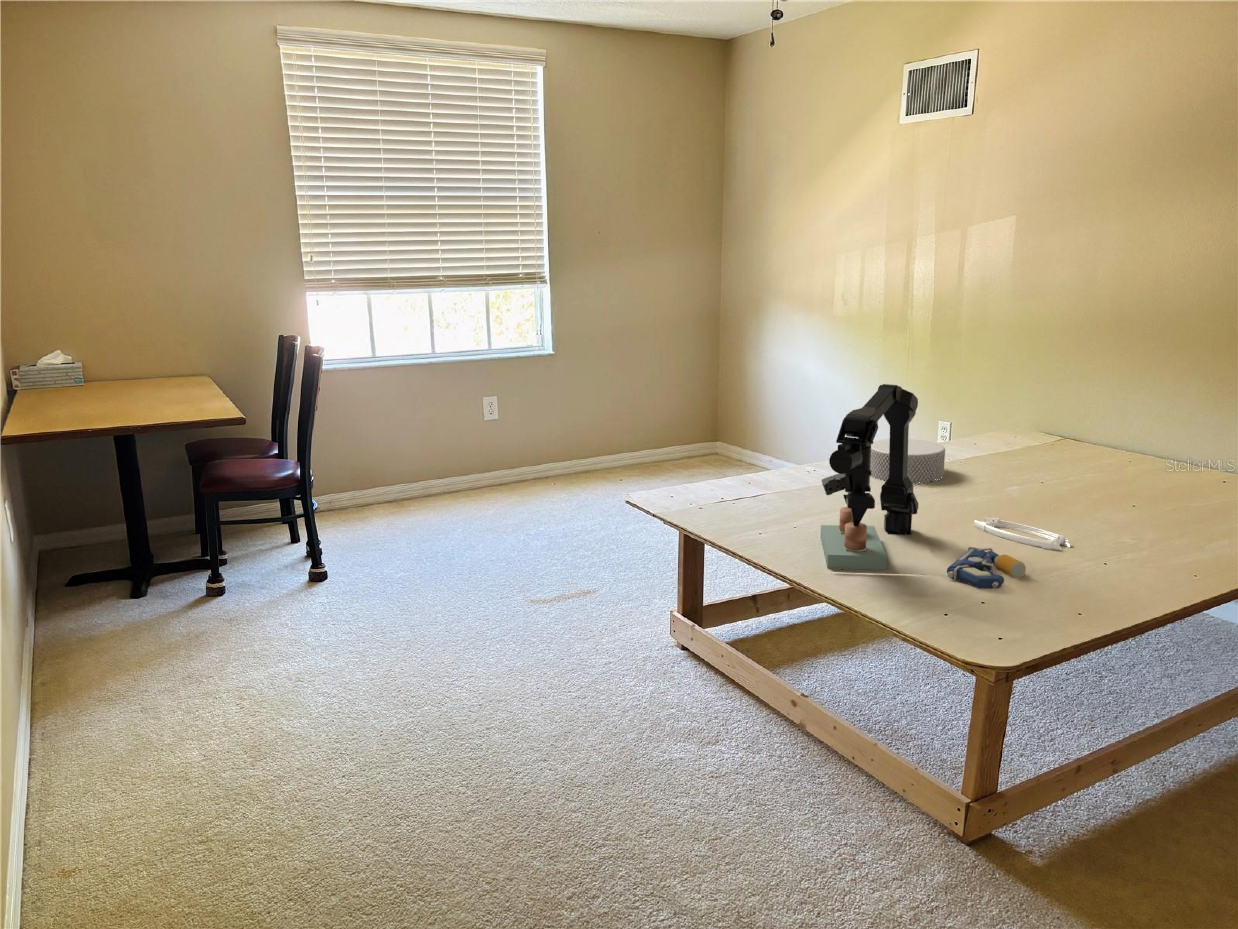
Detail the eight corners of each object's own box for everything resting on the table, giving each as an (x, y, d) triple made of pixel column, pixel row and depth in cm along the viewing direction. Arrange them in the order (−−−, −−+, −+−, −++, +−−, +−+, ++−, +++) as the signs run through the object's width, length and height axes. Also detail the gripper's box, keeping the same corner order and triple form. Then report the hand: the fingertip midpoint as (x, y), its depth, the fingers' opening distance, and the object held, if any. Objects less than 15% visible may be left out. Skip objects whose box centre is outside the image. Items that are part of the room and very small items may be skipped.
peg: (864, 558, 212) (865, 522, 209) (866, 565, 206) (868, 529, 204) (842, 557, 212) (843, 522, 210) (844, 565, 207) (846, 528, 205)
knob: (882, 462, 306) (856, 477, 287) (883, 435, 304) (857, 449, 285) (952, 471, 292) (930, 488, 272) (954, 442, 289) (931, 457, 270)
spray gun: (1033, 568, 203) (970, 557, 213) (1034, 552, 202) (970, 541, 212) (1006, 598, 188) (939, 584, 198) (1007, 580, 187) (940, 567, 196)
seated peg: (858, 540, 224) (859, 507, 222) (860, 547, 219) (861, 513, 217) (837, 540, 225) (838, 506, 222) (839, 547, 220) (840, 512, 217)
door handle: (989, 523, 238) (1076, 546, 217) (967, 530, 232) (1055, 554, 212) (989, 514, 237) (1077, 536, 217) (968, 521, 232) (1055, 544, 211)
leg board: (873, 540, 226) (874, 526, 225) (886, 571, 204) (886, 556, 203) (820, 538, 228) (820, 525, 227) (827, 570, 206) (827, 554, 205)
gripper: (821, 455, 214) (819, 513, 217) (827, 474, 196) (825, 537, 200) (866, 455, 212) (864, 514, 216) (876, 474, 194) (873, 538, 198)
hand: (855, 525), depth 207 cm, fingers closed, pressing on peg
